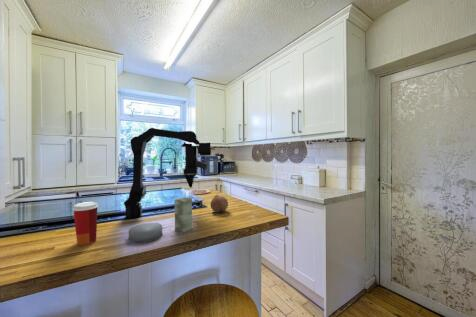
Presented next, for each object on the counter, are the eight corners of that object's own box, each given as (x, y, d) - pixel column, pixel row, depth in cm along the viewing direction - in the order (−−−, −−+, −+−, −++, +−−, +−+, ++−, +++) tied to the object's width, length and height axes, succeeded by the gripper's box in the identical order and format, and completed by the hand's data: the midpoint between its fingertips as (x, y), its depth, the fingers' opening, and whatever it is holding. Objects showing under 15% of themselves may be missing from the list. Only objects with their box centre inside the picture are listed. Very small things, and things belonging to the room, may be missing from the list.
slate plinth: (124, 243, 75) (123, 235, 75) (134, 230, 87) (134, 223, 87) (159, 241, 77) (158, 233, 77) (164, 228, 89) (164, 221, 89)
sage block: (175, 229, 88) (174, 199, 87) (183, 225, 92) (183, 196, 91) (184, 232, 85) (183, 200, 85) (192, 227, 90) (191, 198, 89)
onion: (213, 216, 114) (208, 198, 117) (230, 210, 116) (224, 193, 118) (213, 215, 105) (207, 196, 108) (230, 209, 107) (225, 190, 109)
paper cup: (95, 235, 82) (94, 200, 81) (102, 241, 77) (101, 203, 76) (70, 242, 76) (69, 204, 75) (76, 249, 71) (74, 208, 70)
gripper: (207, 156, 100) (207, 188, 101) (206, 155, 118) (206, 182, 119) (183, 156, 98) (183, 189, 99) (186, 155, 116) (186, 182, 117)
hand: (191, 185), depth 109 cm, fingers open, 9 cm apart
